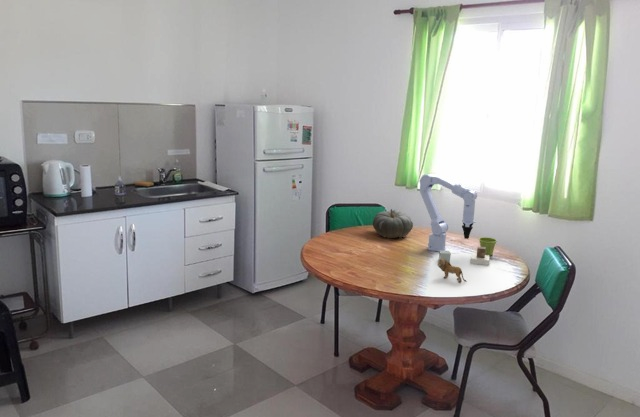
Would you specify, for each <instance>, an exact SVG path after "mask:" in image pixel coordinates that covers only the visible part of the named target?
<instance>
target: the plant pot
mask: <svg viewBox="0 0 640 417" xmlns="http://www.w3.org/2000/svg"><path fill="white" fill-rule="evenodd" d="M478 240H479V247H486V248H485V255H489V257H491V256H493V253H494V249H495V245H496V244H497V239H496V238H493V237H487V236H486V237H479V238H478Z"/></svg>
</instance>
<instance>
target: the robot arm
mask: <svg viewBox="0 0 640 417" xmlns="http://www.w3.org/2000/svg"><path fill="white" fill-rule="evenodd" d="M434 185H440V186H442V187H444V188H446V189H449V190H450V191H451V193H452V194H454V195H455V196H458V197H459V198H461V199H462V200H463V211H462V212H463V213H462V220H461V221H462V224H463V225H461V228H462V230H463V231H462V232H463V237H464V239H467V240H469V238H470V234H471V232H472V230H473V225H474V223H476V222H477V221H476V220H474V219H475V207H476V200H477V197H478V193H477V192H476V191H475V190H474V189H470V188H469V187H467V188H466V187H464V186H463V185H462V184H461V183H455V184H454V183H453V182H450V181H448V180H447V179H445V178H444V177H442V176H441V175H439V174H436V173H434V172H431V173H427V174H424V175H422V176H421V177H420V178H419V193H420V195H421V198H422V199H423V202H424V205H425V207H426V210H427V212H428V216H429V218H430V219H431V221H430V225H431V232H432V233H429V234H428V244H427V246H428V247H427V250H428V251H433V252H439V251H447V247H446V242H447V241H446V240H447V232H448V230H449V224H448V223H447V222H446V221H445V219H444V218H443V216H441V215H440V212H439V209H438V207H437V205H436V203H435V200H434V199H435V198H434V197H433V195H432V192H431V190H432V189H433V186H434Z"/></svg>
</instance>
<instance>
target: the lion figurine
mask: <svg viewBox="0 0 640 417" xmlns="http://www.w3.org/2000/svg"><path fill="white" fill-rule="evenodd" d="M437 266H438V268H439V269H440V270H441V271H442V272H444V276H443V279H447V278H448V277H449V274H453V275H454V274H455V276H456V277H457V278H456V280H457V281H458V283H459V284H461V283H462V280H463V282H466V283H467V280H466V279H464V273H463V270H462V268H461V267H460V266H453V265H452V264H451V262H450V263H449V262H447V260H445V259H439V258H438V261H437Z"/></svg>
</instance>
